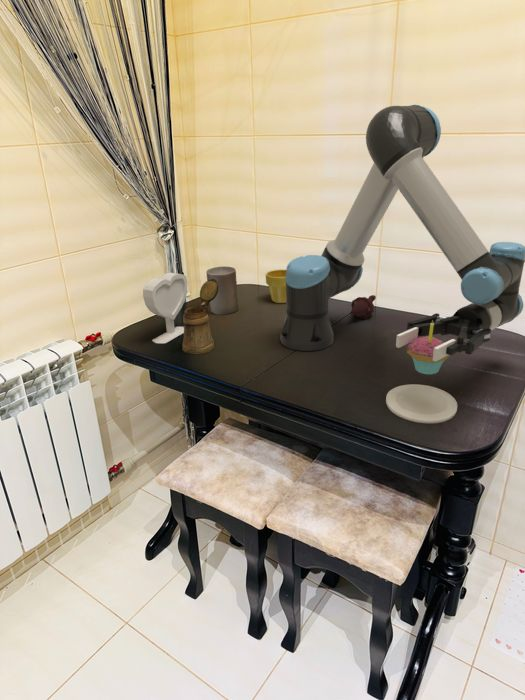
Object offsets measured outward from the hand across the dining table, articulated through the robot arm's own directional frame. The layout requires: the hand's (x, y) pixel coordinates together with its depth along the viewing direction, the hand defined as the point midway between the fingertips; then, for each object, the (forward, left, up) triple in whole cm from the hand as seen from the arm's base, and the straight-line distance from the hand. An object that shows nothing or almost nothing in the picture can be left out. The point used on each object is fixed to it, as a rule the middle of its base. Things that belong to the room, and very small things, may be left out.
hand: (415, 347), depth 102 cm
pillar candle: (-69, +40, -16) cm, 82 cm away
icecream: (-25, +51, -16) cm, 59 cm away
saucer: (+2, +4, -15) cm, 16 cm away
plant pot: (-55, +56, -16) cm, 80 cm away
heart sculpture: (-73, +16, -16) cm, 77 cm away
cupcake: (+2, +4, -7) cm, 8 cm away
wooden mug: (-60, +13, -16) cm, 64 cm away
